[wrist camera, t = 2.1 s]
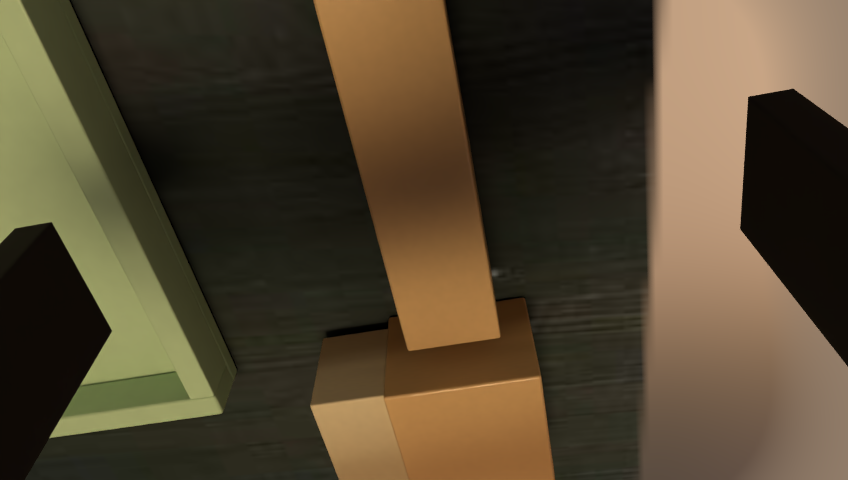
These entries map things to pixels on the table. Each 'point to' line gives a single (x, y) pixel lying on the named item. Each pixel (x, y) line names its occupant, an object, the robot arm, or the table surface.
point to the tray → (103, 227)
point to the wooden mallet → (423, 273)
